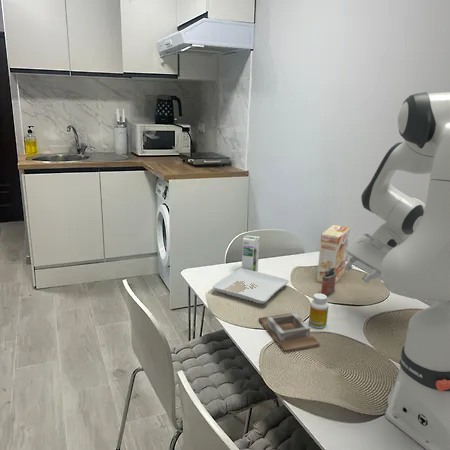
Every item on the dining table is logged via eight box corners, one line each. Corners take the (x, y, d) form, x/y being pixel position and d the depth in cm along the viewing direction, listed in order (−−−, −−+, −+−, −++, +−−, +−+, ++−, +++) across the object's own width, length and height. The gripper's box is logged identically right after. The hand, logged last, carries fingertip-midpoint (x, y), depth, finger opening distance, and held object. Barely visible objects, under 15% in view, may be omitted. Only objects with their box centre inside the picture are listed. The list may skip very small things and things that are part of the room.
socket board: (319, 346, 119) (320, 335, 118) (284, 353, 115) (285, 342, 114) (289, 315, 135) (290, 306, 134) (258, 320, 132) (259, 310, 131)
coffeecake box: (333, 286, 157) (339, 237, 152) (315, 281, 161) (320, 233, 155) (345, 272, 170) (350, 227, 164) (328, 268, 173) (333, 224, 167)
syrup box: (241, 273, 167) (242, 238, 163) (244, 267, 172) (246, 234, 168) (254, 275, 165) (256, 240, 161) (258, 269, 171) (259, 236, 166)
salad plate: (239, 274, 166) (240, 266, 165) (289, 287, 156) (289, 279, 155) (210, 294, 149) (211, 285, 148) (264, 310, 139) (265, 301, 138)
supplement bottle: (326, 329, 128) (329, 301, 125) (308, 327, 129) (311, 299, 126) (326, 320, 133) (329, 293, 130) (308, 318, 134) (311, 291, 131)
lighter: (328, 288, 156) (331, 263, 153) (336, 290, 154) (339, 265, 151) (318, 295, 150) (320, 269, 147) (326, 298, 148) (329, 272, 145)
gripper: (359, 226, 138) (331, 256, 138) (403, 247, 120) (370, 282, 119) (369, 238, 141) (341, 267, 141) (413, 260, 122) (381, 294, 122)
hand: (355, 274), depth 130 cm, fingers open, 8 cm apart
